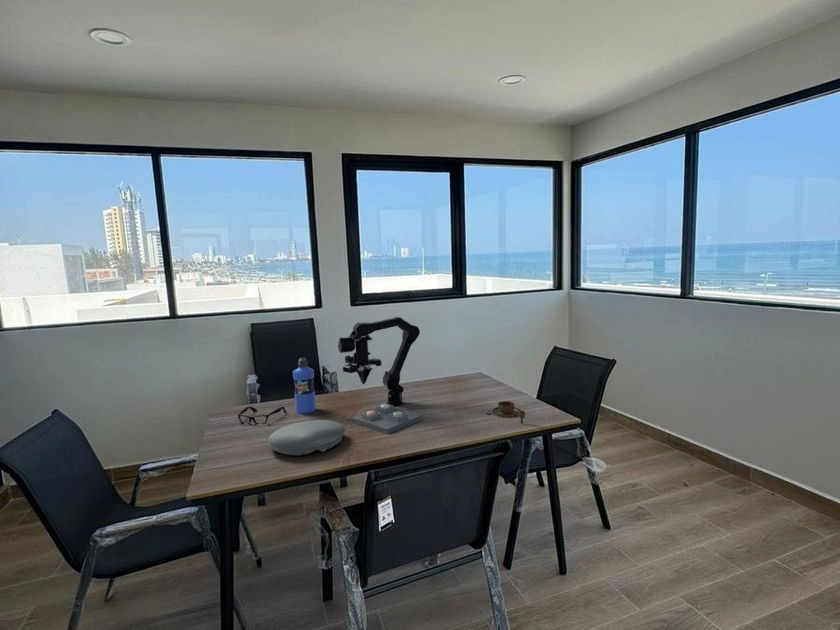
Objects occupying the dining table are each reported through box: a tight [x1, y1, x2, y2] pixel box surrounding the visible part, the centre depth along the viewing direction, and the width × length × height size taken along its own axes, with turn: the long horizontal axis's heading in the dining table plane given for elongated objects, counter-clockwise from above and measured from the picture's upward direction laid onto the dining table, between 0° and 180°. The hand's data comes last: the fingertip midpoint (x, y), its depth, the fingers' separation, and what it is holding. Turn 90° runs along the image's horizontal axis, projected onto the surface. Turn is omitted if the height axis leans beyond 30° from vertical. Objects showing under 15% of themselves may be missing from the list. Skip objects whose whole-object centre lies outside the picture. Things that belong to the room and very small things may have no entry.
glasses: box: [237, 406, 287, 425], centre depth 202 cm, size 17×18×5 cm
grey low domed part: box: [268, 419, 346, 456], centre depth 169 cm, size 28×28×4 cm
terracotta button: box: [365, 410, 376, 416], centre depth 190 cm, size 4×4×2 cm
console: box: [351, 402, 423, 435], centre depth 191 cm, size 20×22×4 cm
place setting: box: [486, 400, 526, 425], centre depth 191 cm, size 18×20×6 cm
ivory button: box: [380, 403, 390, 409], centre depth 198 cm, size 4×4×2 cm
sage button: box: [393, 411, 403, 417], centre depth 187 cm, size 4×4×2 cm
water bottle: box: [292, 357, 317, 415], centre depth 208 cm, size 9×9×25 cm
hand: (363, 383), depth 207 cm, fingers closed
